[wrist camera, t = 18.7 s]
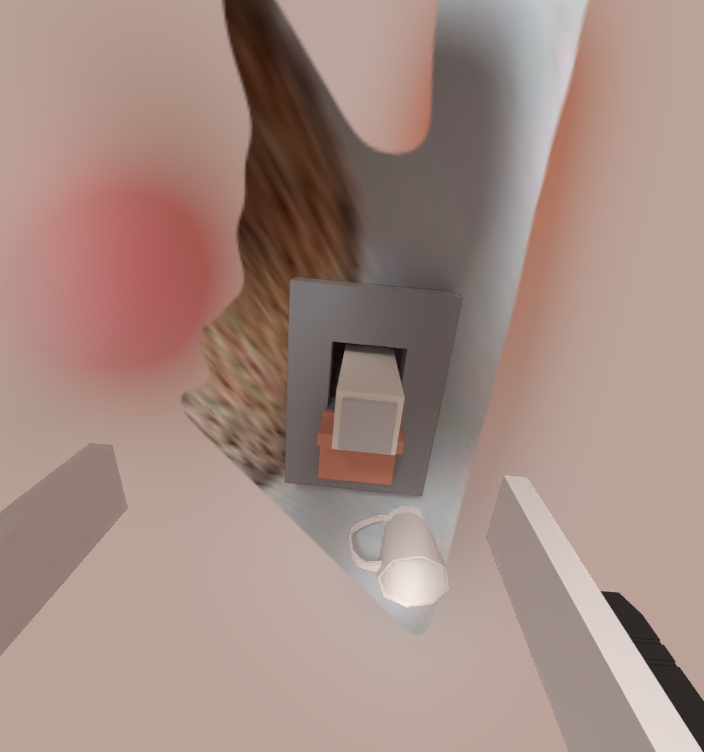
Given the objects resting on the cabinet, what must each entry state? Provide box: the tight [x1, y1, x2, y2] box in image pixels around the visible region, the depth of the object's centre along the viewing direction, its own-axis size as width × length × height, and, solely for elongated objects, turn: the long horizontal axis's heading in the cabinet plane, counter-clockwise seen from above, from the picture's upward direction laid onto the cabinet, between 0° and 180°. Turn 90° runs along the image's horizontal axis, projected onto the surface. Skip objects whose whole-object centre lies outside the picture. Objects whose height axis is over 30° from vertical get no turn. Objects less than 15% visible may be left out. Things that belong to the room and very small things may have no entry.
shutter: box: [317, 410, 404, 485], centre depth 32 cm, size 7×7×4 cm
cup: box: [348, 505, 450, 608], centre depth 37 cm, size 7×10×8 cm
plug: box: [332, 344, 405, 455], centre depth 29 cm, size 4×4×12 cm
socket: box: [285, 277, 462, 496], centre depth 33 cm, size 20×14×3 cm
